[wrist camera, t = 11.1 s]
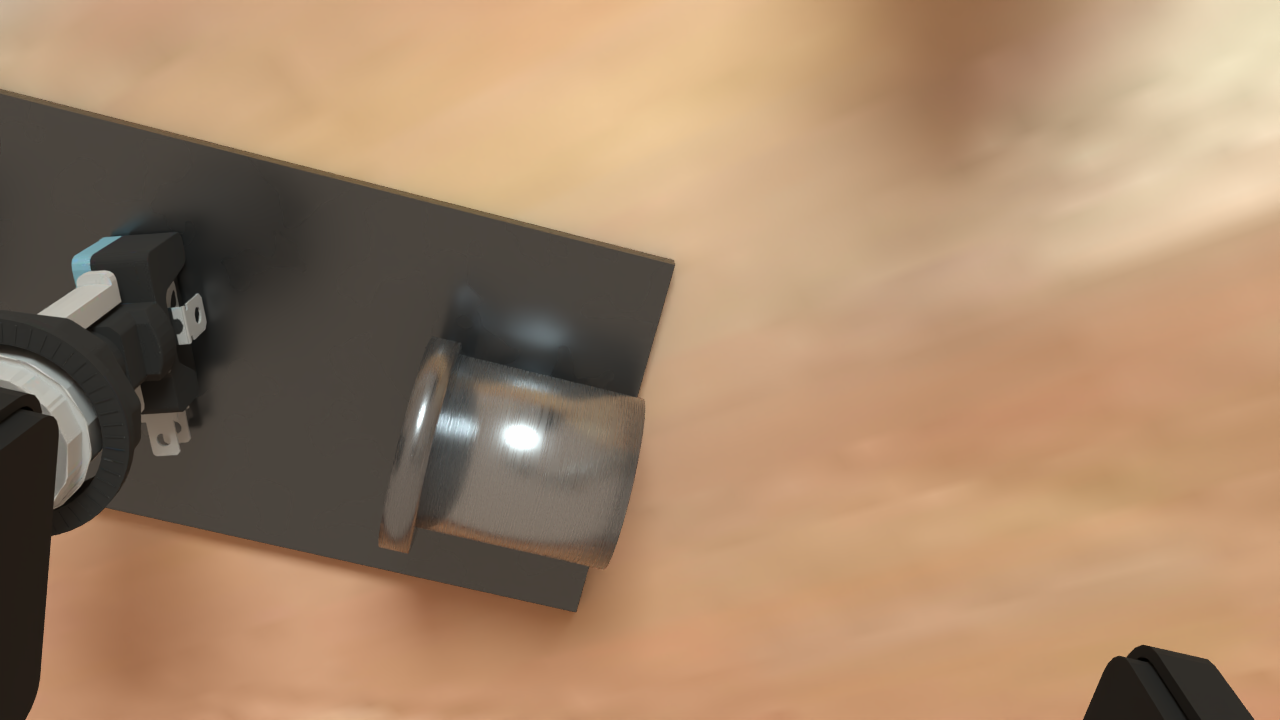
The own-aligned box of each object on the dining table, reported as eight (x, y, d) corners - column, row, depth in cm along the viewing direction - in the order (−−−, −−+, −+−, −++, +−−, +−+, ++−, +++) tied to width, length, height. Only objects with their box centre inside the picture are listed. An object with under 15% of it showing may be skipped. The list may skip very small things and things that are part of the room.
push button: (269, 429, 37) (146, 603, 27) (94, 440, 37) (-87, 619, 27) (228, 214, 34) (80, 324, 25) (43, 227, 34) (-175, 342, 25)
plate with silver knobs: (673, 260, 36) (684, 330, 29) (576, 604, 39) (567, 729, 33) (-320, 7, 33) (-536, 27, 27) (-318, 404, 37) (-506, 500, 31)
